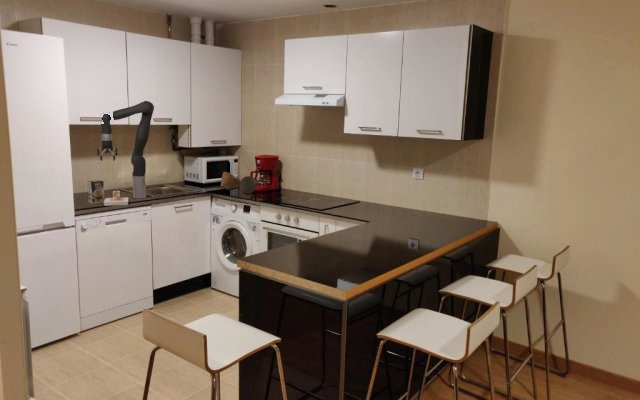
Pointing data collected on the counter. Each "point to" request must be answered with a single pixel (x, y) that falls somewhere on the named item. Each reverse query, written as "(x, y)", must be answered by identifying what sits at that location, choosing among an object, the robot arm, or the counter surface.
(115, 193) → the maple block
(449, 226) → the counter surface
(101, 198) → the coffee box
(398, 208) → the counter surface
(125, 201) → the white base board
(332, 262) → the counter surface
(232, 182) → the rough brown rock
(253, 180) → the dark grey sphere
